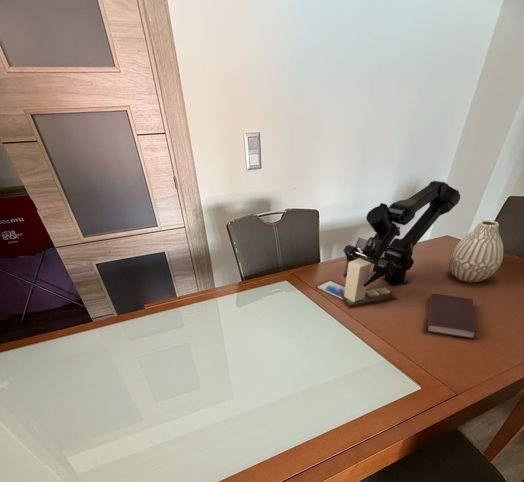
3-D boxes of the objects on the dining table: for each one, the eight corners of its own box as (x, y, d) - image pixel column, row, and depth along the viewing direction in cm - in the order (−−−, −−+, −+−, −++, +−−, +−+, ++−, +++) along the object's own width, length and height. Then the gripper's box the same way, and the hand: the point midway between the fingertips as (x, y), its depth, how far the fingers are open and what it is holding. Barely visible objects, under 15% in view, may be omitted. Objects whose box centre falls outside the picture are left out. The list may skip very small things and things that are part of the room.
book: (424, 331, 91) (428, 323, 89) (428, 300, 104) (431, 291, 102) (473, 340, 86) (477, 331, 84) (470, 306, 99) (474, 298, 97)
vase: (467, 265, 121) (488, 212, 109) (503, 282, 110) (530, 225, 97) (434, 273, 118) (451, 220, 106) (467, 291, 107) (490, 234, 94)
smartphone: (329, 280, 120) (360, 293, 110) (329, 282, 120) (360, 295, 111) (316, 286, 116) (347, 300, 107) (316, 288, 117) (347, 302, 107)
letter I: (354, 291, 110) (359, 257, 101) (364, 297, 106) (371, 262, 98) (343, 296, 108) (348, 262, 99) (354, 302, 104) (360, 267, 96)
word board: (383, 288, 112) (383, 284, 111) (394, 299, 106) (395, 294, 105) (340, 296, 110) (340, 292, 109) (349, 307, 104) (350, 303, 103)
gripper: (350, 220, 100) (323, 261, 102) (398, 234, 87) (366, 281, 90) (363, 238, 108) (337, 276, 111) (409, 253, 95) (379, 295, 98)
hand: (353, 281), depth 102 cm, fingers open, 8 cm apart
